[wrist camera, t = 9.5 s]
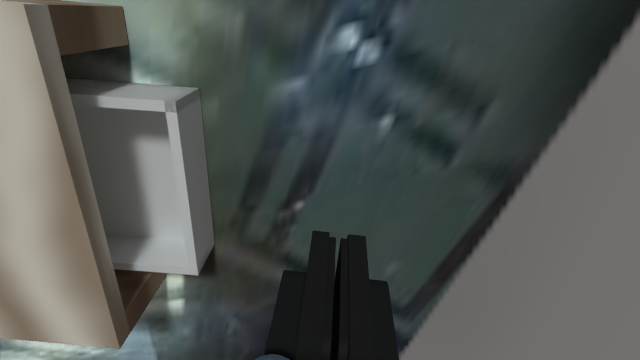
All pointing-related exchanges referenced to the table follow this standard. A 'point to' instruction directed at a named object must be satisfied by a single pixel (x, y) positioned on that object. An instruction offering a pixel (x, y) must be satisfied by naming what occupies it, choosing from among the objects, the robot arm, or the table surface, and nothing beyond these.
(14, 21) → the tan slab
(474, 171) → the table surface
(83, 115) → the white open tray
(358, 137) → the table surface
